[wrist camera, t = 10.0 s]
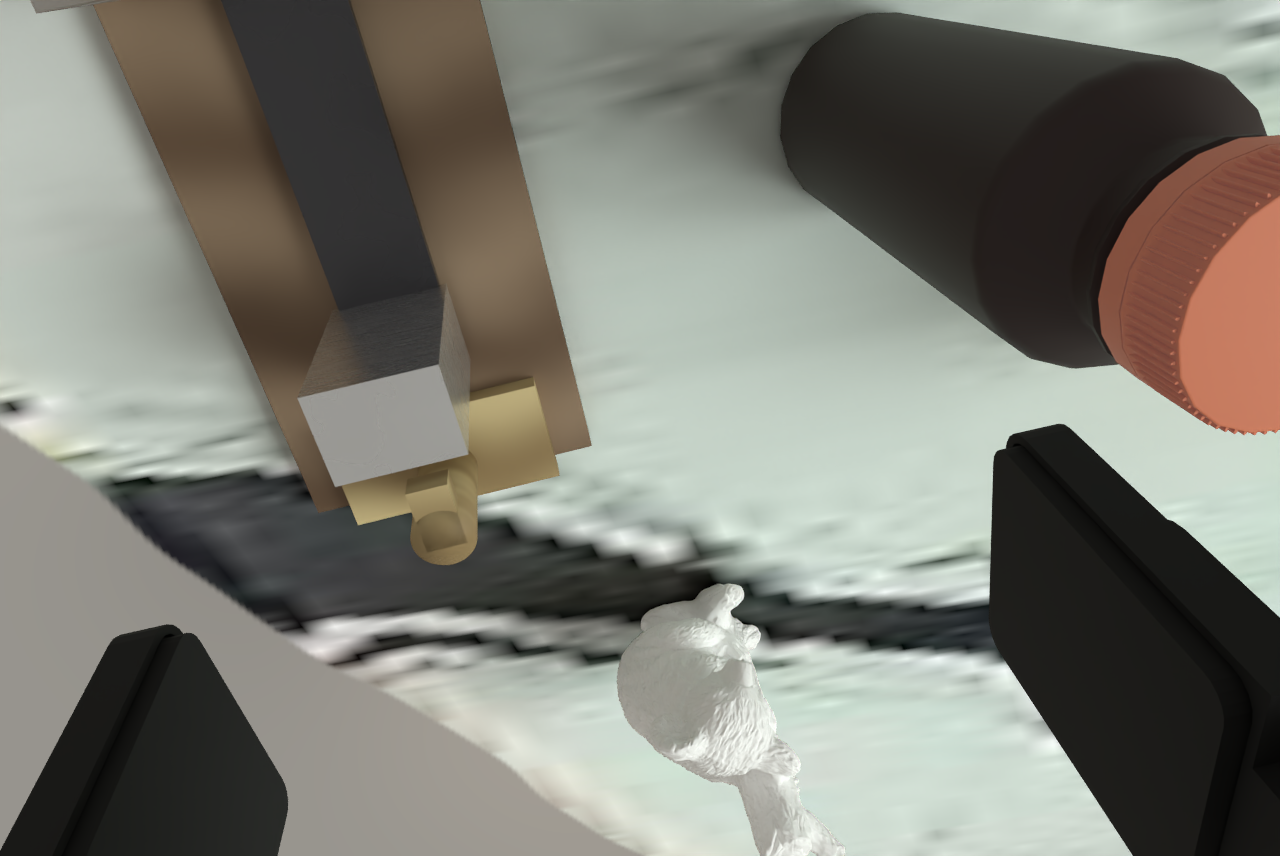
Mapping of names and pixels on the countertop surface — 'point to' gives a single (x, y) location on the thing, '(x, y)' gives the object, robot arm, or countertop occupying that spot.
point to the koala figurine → (718, 715)
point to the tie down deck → (448, 211)
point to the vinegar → (1059, 197)
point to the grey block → (358, 247)
